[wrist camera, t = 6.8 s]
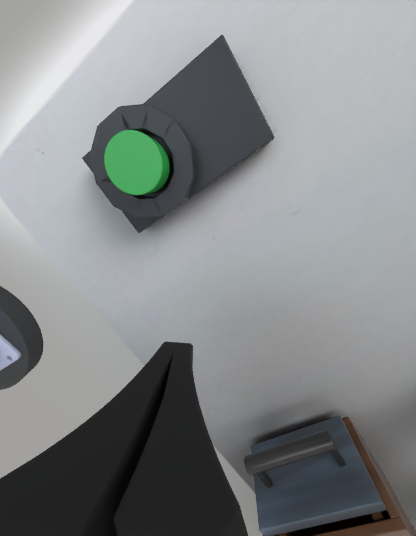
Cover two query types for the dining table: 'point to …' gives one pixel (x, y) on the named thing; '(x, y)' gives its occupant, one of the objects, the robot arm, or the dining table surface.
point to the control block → (187, 133)
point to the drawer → (312, 482)
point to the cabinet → (399, 526)
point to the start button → (136, 163)
